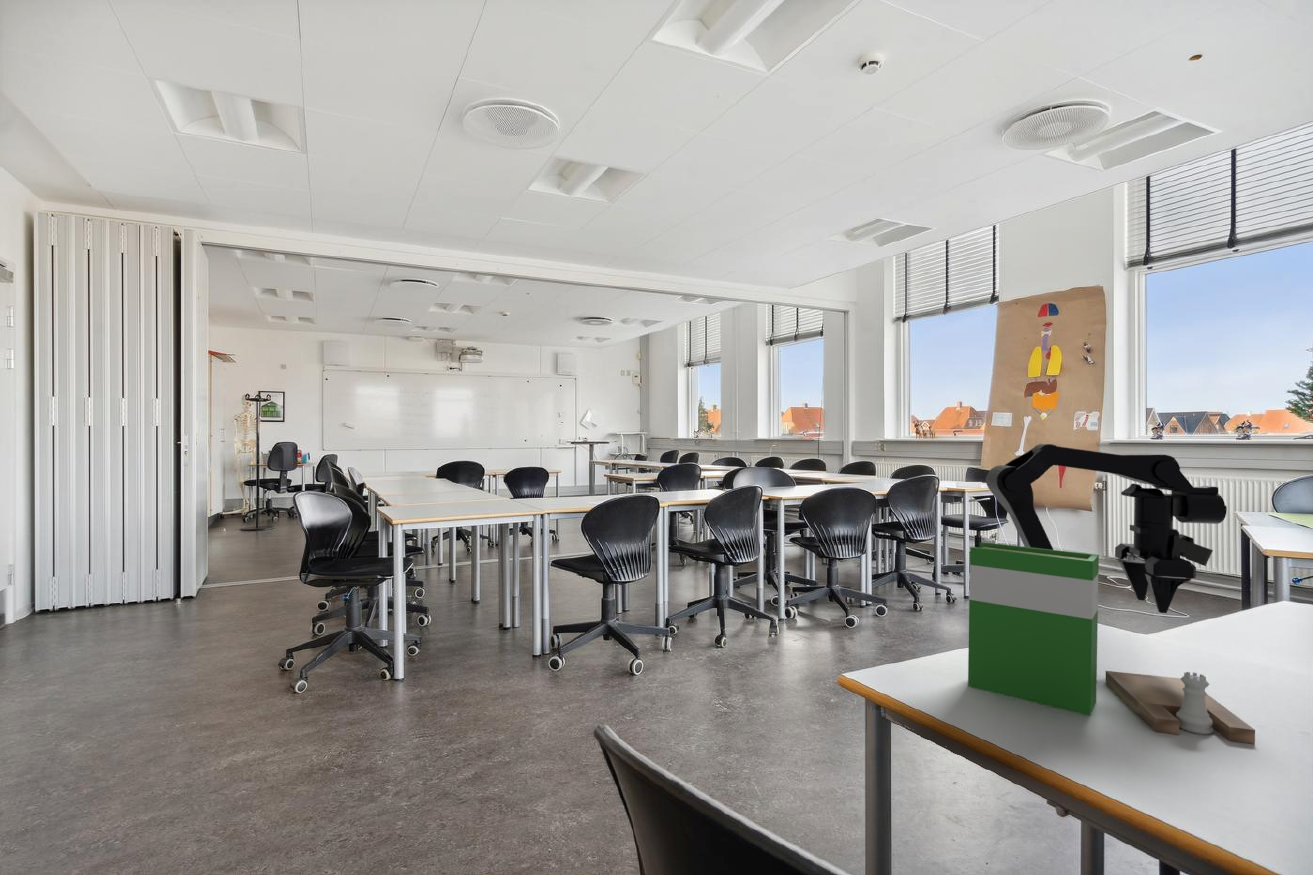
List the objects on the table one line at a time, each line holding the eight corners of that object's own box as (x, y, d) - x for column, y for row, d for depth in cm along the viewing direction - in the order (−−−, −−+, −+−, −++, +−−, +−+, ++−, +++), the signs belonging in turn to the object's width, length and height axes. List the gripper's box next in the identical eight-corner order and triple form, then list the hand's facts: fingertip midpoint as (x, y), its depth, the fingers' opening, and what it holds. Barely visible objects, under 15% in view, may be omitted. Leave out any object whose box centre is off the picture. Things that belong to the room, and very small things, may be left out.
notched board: (1154, 731, 96) (1154, 718, 96) (1105, 682, 115) (1105, 670, 115) (1254, 743, 92) (1255, 729, 92) (1186, 690, 111) (1187, 678, 111)
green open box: (967, 686, 112) (970, 547, 112) (979, 674, 118) (981, 542, 118) (1090, 716, 101) (1092, 561, 101) (1096, 701, 107) (1098, 554, 107)
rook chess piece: (1199, 722, 99) (1200, 670, 99) (1221, 736, 95) (1222, 681, 95) (1167, 721, 99) (1168, 668, 99) (1188, 734, 95) (1189, 680, 95)
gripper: (1234, 531, 109) (1232, 624, 109) (1181, 517, 127) (1179, 597, 127) (1155, 527, 112) (1153, 618, 112) (1114, 514, 130) (1113, 593, 130)
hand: (1151, 606), depth 121 cm, fingers open, 9 cm apart
